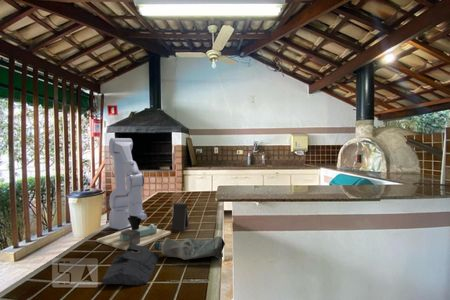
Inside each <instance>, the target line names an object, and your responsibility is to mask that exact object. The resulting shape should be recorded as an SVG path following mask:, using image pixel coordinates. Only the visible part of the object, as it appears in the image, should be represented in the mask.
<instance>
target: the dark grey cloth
mask: <svg viewBox="0 0 450 300" xmlns="http://www.w3.org/2000/svg"><path fill="white" fill-rule="evenodd" d="M160 257H161V255H160V253H157V252H155V251H152V250H150V249H149V248H148V246H146V245H144V246H139V245H135V244H130V246H129V247H128V248H127V251H124V252H123V254H117V255H116V256H115V257H114V258H113V260H112V262H111V265H110V266H109V267H108V268H107V270H106V272H105V274H104V276H103V277H102V279H101V281H102V282H101V283H103V284H104V285H126V286H142V285H146V284H148V283H149V281H150V279H151V276H152V275H153V272H154V271H155V270H156V266H157V265H158V262H159V260H160Z"/></svg>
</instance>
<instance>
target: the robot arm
mask: <svg viewBox="0 0 450 300" xmlns="http://www.w3.org/2000/svg"><path fill="white" fill-rule="evenodd" d="M133 145H134V142H133V139H132V138H130V137H127V138H126V137H124V138H123V137H121V138H119V137H110V139H109V140H108V152H109V155H110V156H111V157H112V158H113V163H114V164H113V165H114V184H115V187H114V188H115V189H114V190H113V191H112V192H110V194H109V201H108V203H109V204H108V205H109V208H110V209H111V210H110V211H109V215H108V216H109V217H108V221H109V222H108V224H109V225H107V228H110V229H114V230H118V231H122V230H125V229H128V228H132V230H137V229H139V226H140V225H141V222H142V221H144V220H147V218H148V217H147V213H145V210H144V209H143V187H144V185H145V176H144V174H143V173H142V172H141V171H140V170H139V167H138V164H137V162H136V161H135V160H133V155H132V150H133Z"/></svg>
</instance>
